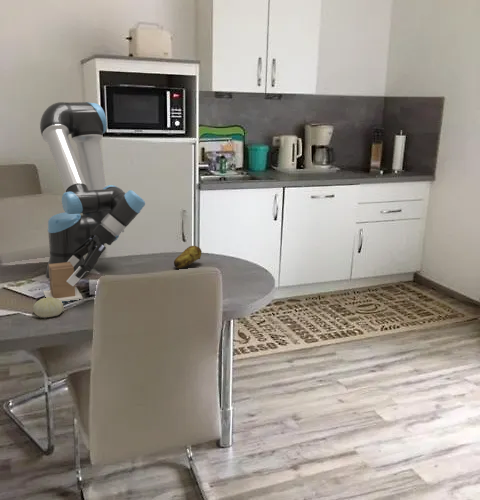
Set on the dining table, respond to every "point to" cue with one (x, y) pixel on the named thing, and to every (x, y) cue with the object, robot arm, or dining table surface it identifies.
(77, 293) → the tile
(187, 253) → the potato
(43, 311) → the sea urchin shell
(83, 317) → the dining table surface
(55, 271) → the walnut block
